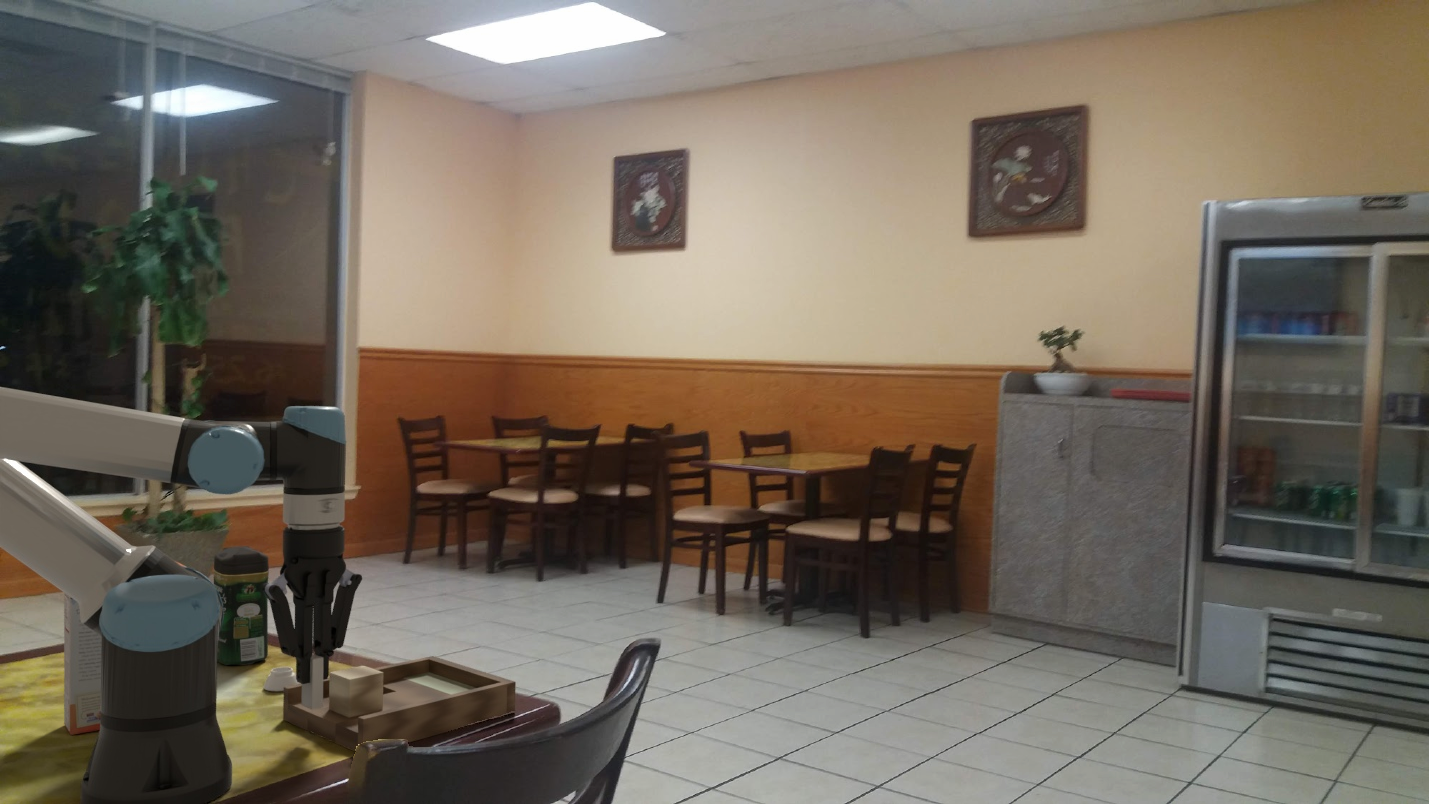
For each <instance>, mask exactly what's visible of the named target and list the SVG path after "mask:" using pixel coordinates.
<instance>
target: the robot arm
mask: <svg viewBox="0 0 1429 804" xmlns="http://www.w3.org/2000/svg"><path fill="white" fill-rule="evenodd" d="M345 417H346V416H345V413H344V411H342V409H341V408H339V407H337V406H324V405H322V406H321V405H320V406H319V405H315V406H314V405H305V406H302V405H301V406H300V405H295V406H292V405H291V406H287V407H286V408H285V409H284V412H283V417H282V420H277V421H235V420H231V421H230V420H229V421H225V420H222V421H221V420H220V421H219V420H218V421H217V420H198V419H190V418H184V417H181V416H180V417H179V416H173V415H169V414H162V413H156V412H155V413H154V412H149V411H145V410H140V409H132V408H126V407H121V406H115V405H109V404H104V403H97V402H90V401H85V400H81V399H80V400H78V399H73V398H67V397H61V396H55V395H49V394H44V393H43V394H42V393H37V392H33V391H27V390H22V389H21V390H20V389H15V388H9V387H2V386H0V548H1V549H2V550H3V551H5V552H6V553H8V554H9V555H11V556H12V557H13V558H15V559H16V560H18V561H19V562H20V563H22V564H23V565H24V566H26V567H28V568H29V569H31V571H33V572H35V573H36V574H37V575H38V576H40V577H41V578H43V579H44V580H46V581H47V582H49V583H50V584H51V585H53V586H54V587H56V588H57V589H59V590H60V591H62V592H63V594H64V593H65V594H67V595H68V596H70V597H71V598H72V599H74V600H75V601H77V602H78V604H79V607H80V617H81V622H82V623H83V624H85V625H86V626H88V627H89V628H90V629H92V630H93V631H94V632H96V633H97V634H99V635H100V636H102V643H101V700H100V711H101V713H100V730H98V731H99V733H98V735H97V738H96V740H95V742H94V743H95V744H94V746H93V749H92V751H91V754H90V757H89V760H88V763H87V767H86V771H85V773H84V775H83V776H82V779H81V782H80V804H206V803H208V802H211V801H214V800H215V799H217V798H219V797H220V796H222V795H224V794H225V793H227V791H228V790H229V789H230V788H231V787H232V783H233V763H232V760H231V757H230V755H229V754H228V751H227V747H226V744H225V741H224V740H225V739H224V737H223V734H222V730H221V728H220V725H219V723H218V717H217V696H218V695H217V694H218V693H217V692H218V691H217V690H218V688H217V687H218V686H217V685H218V661H217V649H218V639H219V633H220V631H221V628H222V624H223V618H224V613H223V603H222V600H221V597H220V594H219V592H218V590H216V587H215V585H214V582H212V580H210V578H209V577H208V576H206V575H204V574H203V573H201V571H197V570H196V569H194V568H190V567H188V566H186V565H184V566H181V565H179V564H178V563H179V562H178V561H177V562H178V563H177V562H175V561H176V560H174V559H173V558H171V557H170V556H169V555H167V554H166V553H165V552H163V551H161V550H160V549H159V548H158V547H157V546H155V545H153V544H151V545H143V546H141V545H139V546H137V545H136V546H135V545H131V544H130V543H129V542H127V541H126V540H125V539H124V538H123V537H121V536H119V535H118V534H117V533H116V532H115V531H113V530H111V529H110V528H109V527H107V526H106V525H105V524H103V523H102V522H101V521H99V520H98V519H97V518H96V517H94V516H93V515H91V514H90V513H89V512H87V511H86V510H84V509H83V508H82V507H80V506H79V505H78V504H76V502H74V501H73V500H71V499H70V498H68V497H67V496H66V495H65V494H63V493H62V492H61V491H59V490H58V489H56V488H55V487H53V486H52V485H51V484H49V483H48V482H47V481H45V480H44V479H43V478H41V477H40V476H39V475H37V474H36V473H35V472H33V470H30V469H29V468H28V467H27V466H25V465H24V464H23V463H28V464H29V463H31V464H35V465H43V466H49V467H55V468H65V469H69V470H77V471H83V472H85V471H86V472H91V473H99V474H105V475H113V476H120V477H126V478H135V479H140V480H147V481H155V482H162V483H168V484H174V485H179V486H187V487H193V488H199V489H202V490H203V491H204V490H205V491H207V492H209V493H211V494H215V495H216V494H217V495H234V494H238V493H240V492H243V491H244V490H245V489H247V488H249V487H251V486H252V485H253V484H254V483H256V481H277V480H278V481H279V480H280V481H281V480H282V481H283V496H282V498H283V500H282V522H283V523H284V524H285V525H287V526H286V527H284V529H282V557H283V562H282V566H281V568H280V570H279V576H278V577H276V578H275V579H274V580H273V581H272V582H270V583H269V582H268V583H265V584H264V585H263V586H262V591H263V592H264V594H265V595H266V596H267V598H268V601H269V605H270V608H271V613H272V617H273V621H274V627H275V629H276V634H277V637H278V643H279V646H280V647H279V648H280V651H281V653H282V654H284V655H285V656H286V655H287V656H290V657H293V658H295V664H296V665H295V674H296V680H297V682H299V683H300V684H302V706H304V707H307V708H309V709H312V710H313V709H318V708H322V707H323V680H325V679H327V678H329V677H330V657H332V656H334V653H335V650H337V649H342V648H343V646H344V644H345V639H346V634H347V630H348V625H349V621H350V616H351V614H352V613H351V612H352V607H353V603H354V598H355V594H356V591H357V590H358V587H359V585H361V582H362V580H363V577H362V575H361V574H359V573H356V572H352V571H351V570H349V569H348V568H347V564H346V562H345V560H344V552H345V535H346V531H345V527H344V526H343V525H340V524H341V523H343V522H344V521H345V513H346V512H345V506H346V505H345V503H346V502H345V499H346V497H345V495H346V494H345V493H346V461H347V460H346V459H347V457H346V455H347V452H346V451H347V439H346V435H347V434H346V418H345ZM21 462H23V463H21ZM185 566H186V567H185ZM338 583H339V584H338ZM337 584H338V586H337ZM336 587H337V590H336V592H335V588H336ZM287 588H288V589H289V590H290V591H291V593H292V594H293V595H292V602H293V604H294V621H293V616H292V613H291V608H290V603H289V600H288V598H287V596H286V595H287V593H288V590H287ZM334 592H335V597H334ZM333 602H334V603H333ZM332 604H333V606H332ZM313 652H314V653H313Z"/></svg>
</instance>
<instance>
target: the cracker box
mask: <svg viewBox="0 0 1429 804" xmlns="http://www.w3.org/2000/svg"><path fill="white" fill-rule="evenodd" d="M174 561H175V562H177V563H178V564H179V565H181V566H185V567H187V566H186V565H184V564H182V563H181V562H178V561H177V560H174ZM63 595H64V596H63V597H64V599H63V600H64V602H63V604H64V606H63V609H64V610H63V611H64V612H63V614H64V615H63V616H64V617H63V620H64V621H63V626H64V627H63V628H64V629H63V630H64V632H63V639H64V640H63V642H64V643H63V646H64V647H63V654H64V655H63V657H64V658H63V661H64V662H63V664H64V665H63V666H64V667H63V668H64V673H63V674H64V675H63V683H64V685H63V687H64V688H63V692H64V693H63V710H64V711H63V717H64V720H63V721H64V722H63V723H64V726H65V727H66V730H67V731H68V733H69V734H70V735H71V736H72V735H73V736H74V735H78V734H85V733H91V732H96V731H97V732H98V731H100V713H101V711H100V700H101V643H102V636H100V635H99V634H97V633H96V632H94V631H93V630H92V629H90V628H89V627H88V626H86V625H85V624H83V623H82V622H81V617H80V607H79V604H78V602H77V601H75V600H74V599H72V598H71V597H70V596H68V595H67V594H65V593H64V592H63Z"/></svg>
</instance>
